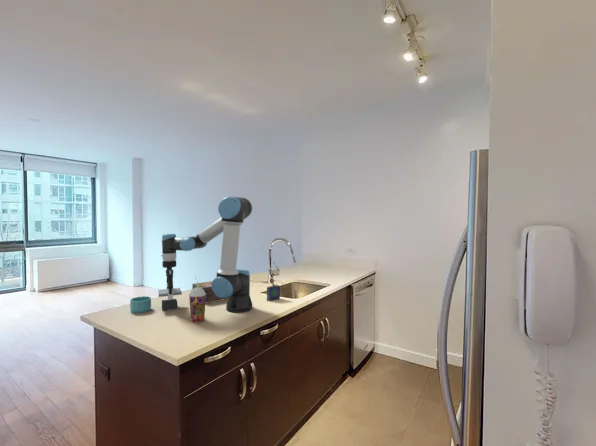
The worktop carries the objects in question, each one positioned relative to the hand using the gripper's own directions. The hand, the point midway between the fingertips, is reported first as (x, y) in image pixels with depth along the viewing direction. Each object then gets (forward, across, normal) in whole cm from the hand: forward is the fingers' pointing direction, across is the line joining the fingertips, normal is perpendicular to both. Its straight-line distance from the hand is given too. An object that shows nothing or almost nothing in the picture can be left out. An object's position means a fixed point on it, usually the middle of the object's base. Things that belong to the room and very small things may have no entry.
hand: (169, 297), depth 180 cm
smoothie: (+7, +29, +12) cm, 32 cm away
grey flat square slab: (-2, 0, 0) cm, 2 cm away
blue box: (+8, +8, +62) cm, 63 cm away
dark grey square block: (+6, 0, 0) cm, 6 cm away
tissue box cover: (+7, -12, +29) cm, 32 cm away
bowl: (+6, -2, -15) cm, 17 cm away
